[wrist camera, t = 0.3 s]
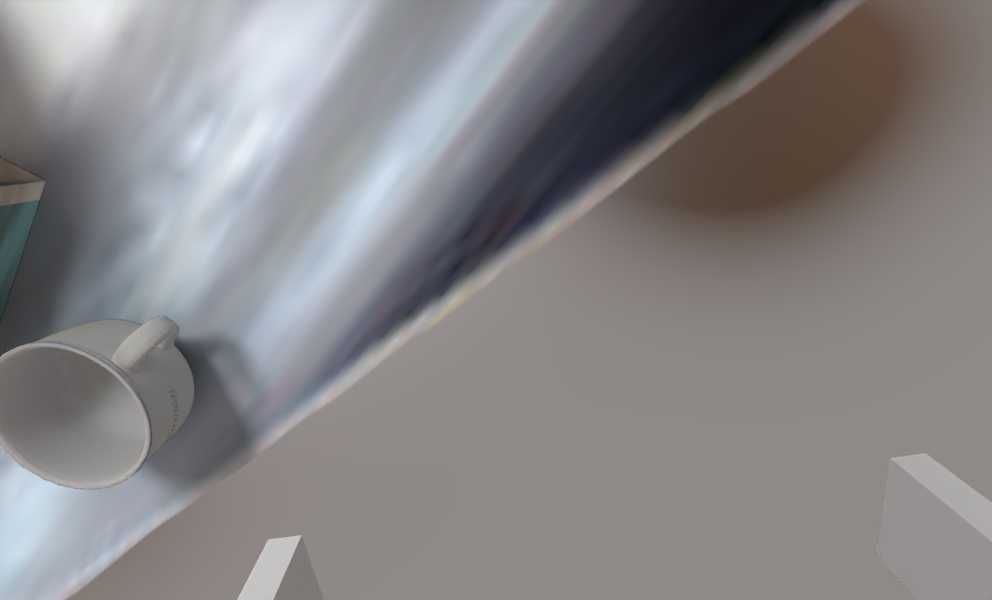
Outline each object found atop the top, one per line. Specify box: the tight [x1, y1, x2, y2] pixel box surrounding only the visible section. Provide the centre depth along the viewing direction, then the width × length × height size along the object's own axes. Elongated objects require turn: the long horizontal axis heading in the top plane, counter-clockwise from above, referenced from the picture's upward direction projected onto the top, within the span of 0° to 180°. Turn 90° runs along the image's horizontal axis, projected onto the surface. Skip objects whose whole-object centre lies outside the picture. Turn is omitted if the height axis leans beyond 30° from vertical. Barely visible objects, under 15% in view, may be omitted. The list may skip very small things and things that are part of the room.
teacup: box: [0, 316, 195, 489], centre depth 36 cm, size 14×11×8 cm
